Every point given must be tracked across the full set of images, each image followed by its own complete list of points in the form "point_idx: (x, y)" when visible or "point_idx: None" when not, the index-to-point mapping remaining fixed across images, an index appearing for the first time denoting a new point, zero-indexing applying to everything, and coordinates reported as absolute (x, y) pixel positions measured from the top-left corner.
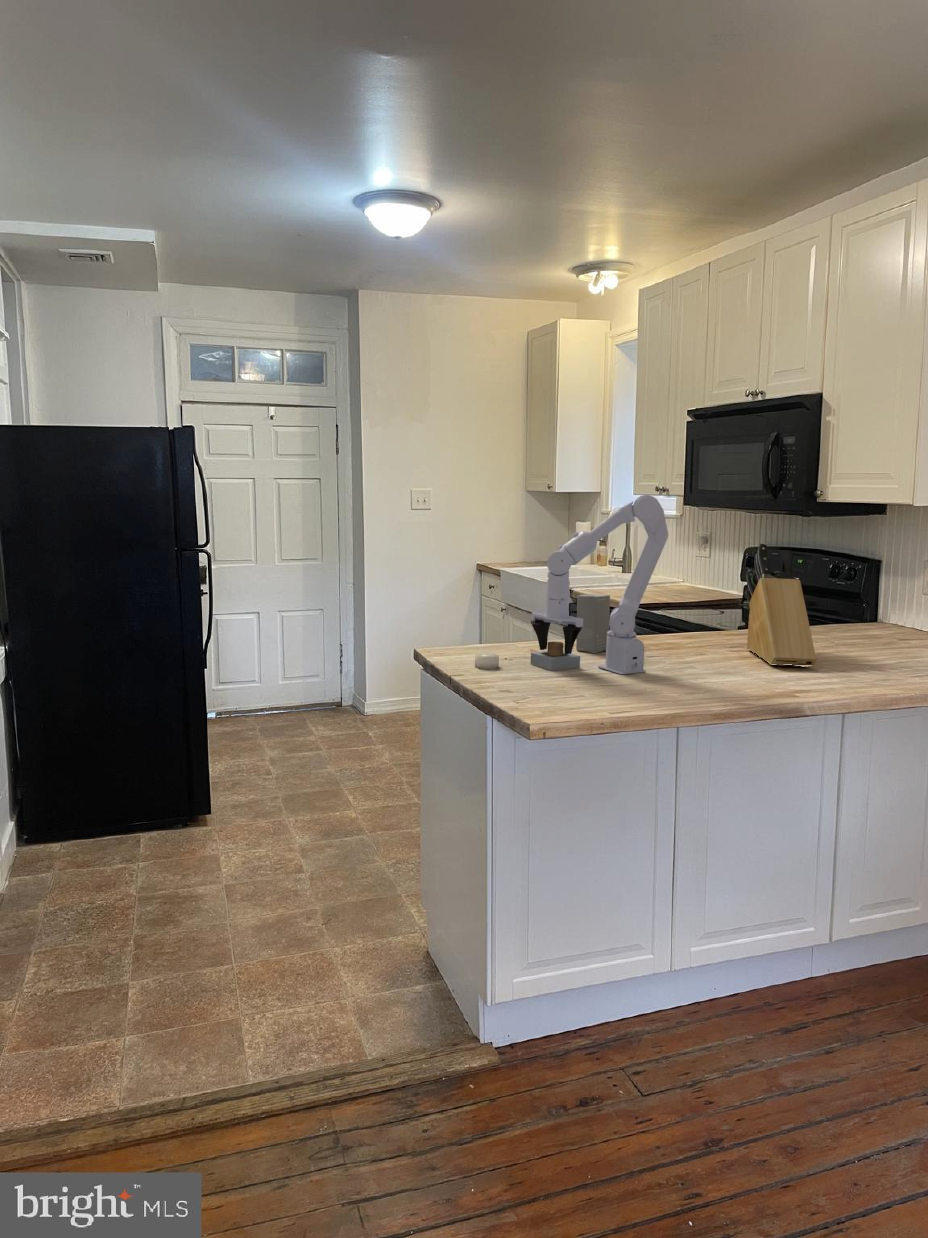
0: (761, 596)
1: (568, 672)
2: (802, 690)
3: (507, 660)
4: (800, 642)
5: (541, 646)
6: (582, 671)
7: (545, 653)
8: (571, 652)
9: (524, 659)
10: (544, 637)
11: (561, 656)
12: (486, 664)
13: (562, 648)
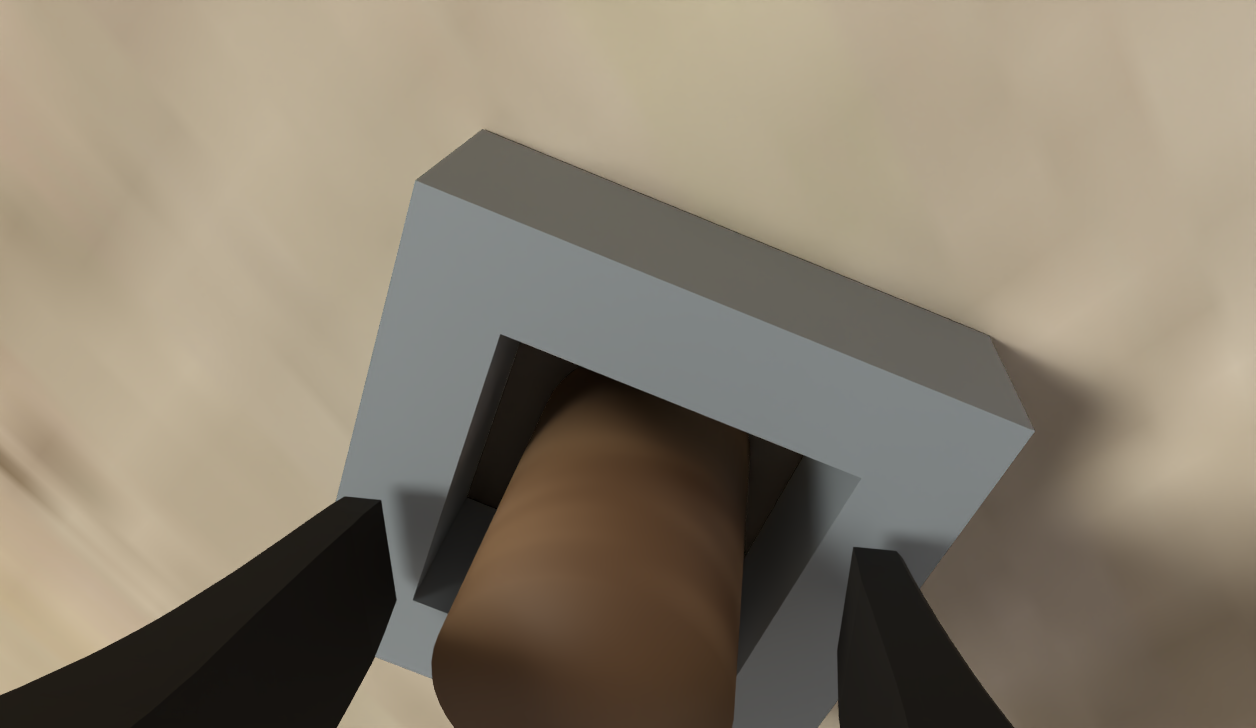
0: None
1: (975, 641)
2: None
3: (78, 512)
4: None
5: (372, 657)
6: (1118, 506)
7: (438, 520)
8: (905, 566)
9: (120, 346)
10: (274, 698)
11: (782, 625)
12: None
13: (736, 632)
